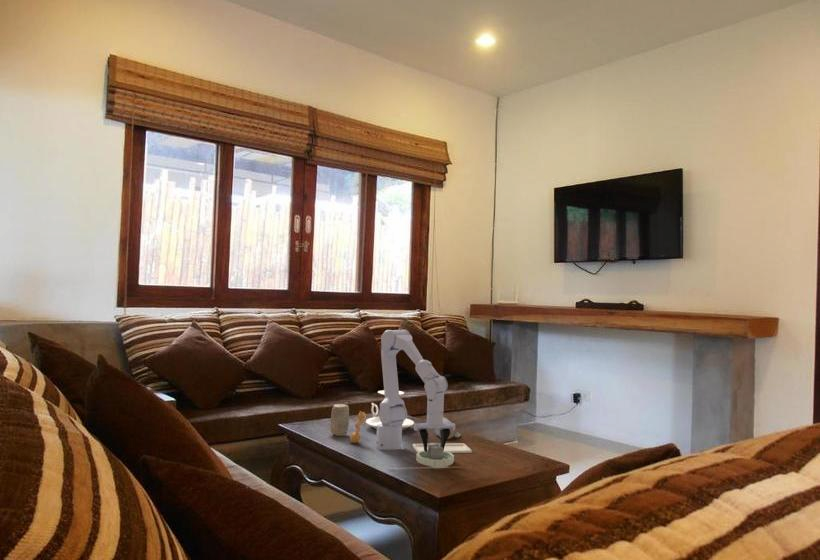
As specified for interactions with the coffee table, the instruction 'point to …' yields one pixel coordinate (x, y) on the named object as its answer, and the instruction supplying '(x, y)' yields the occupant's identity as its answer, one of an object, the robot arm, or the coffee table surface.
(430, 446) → the pebble
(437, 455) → the pebble
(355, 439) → the figurine
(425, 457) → the celadon bowl
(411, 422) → the candlestick
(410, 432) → the coffee table surface
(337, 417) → the carving
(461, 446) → the parts tray
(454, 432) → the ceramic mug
